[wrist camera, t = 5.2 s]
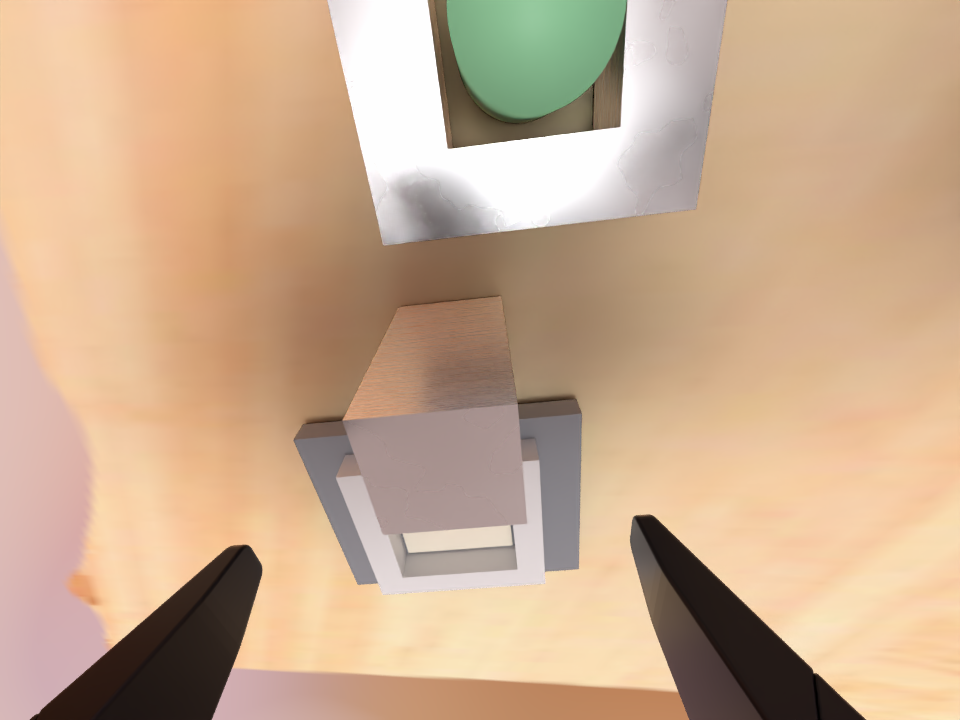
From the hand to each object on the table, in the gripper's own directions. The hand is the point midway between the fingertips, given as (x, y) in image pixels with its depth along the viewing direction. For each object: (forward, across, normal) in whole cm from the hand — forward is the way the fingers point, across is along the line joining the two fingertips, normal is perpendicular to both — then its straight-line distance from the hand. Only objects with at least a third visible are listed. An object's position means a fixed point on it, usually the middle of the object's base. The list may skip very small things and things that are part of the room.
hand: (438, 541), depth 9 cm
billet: (+10, 0, 0) cm, 10 cm away
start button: (+9, -3, -10) cm, 14 cm away
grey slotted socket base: (+10, +2, +10) cm, 14 cm away
